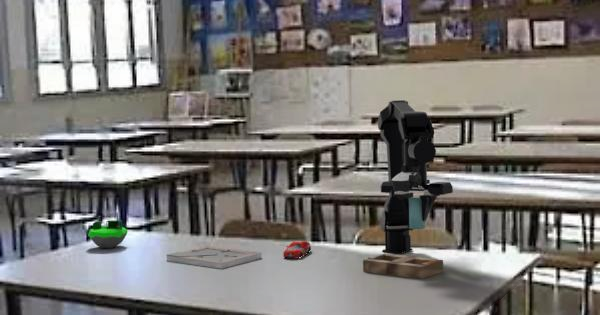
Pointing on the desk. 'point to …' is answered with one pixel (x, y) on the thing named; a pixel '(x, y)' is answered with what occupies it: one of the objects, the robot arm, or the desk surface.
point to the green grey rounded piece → (108, 233)
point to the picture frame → (214, 256)
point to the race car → (297, 249)
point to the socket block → (403, 265)
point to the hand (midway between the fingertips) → (417, 220)
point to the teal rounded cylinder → (415, 213)
